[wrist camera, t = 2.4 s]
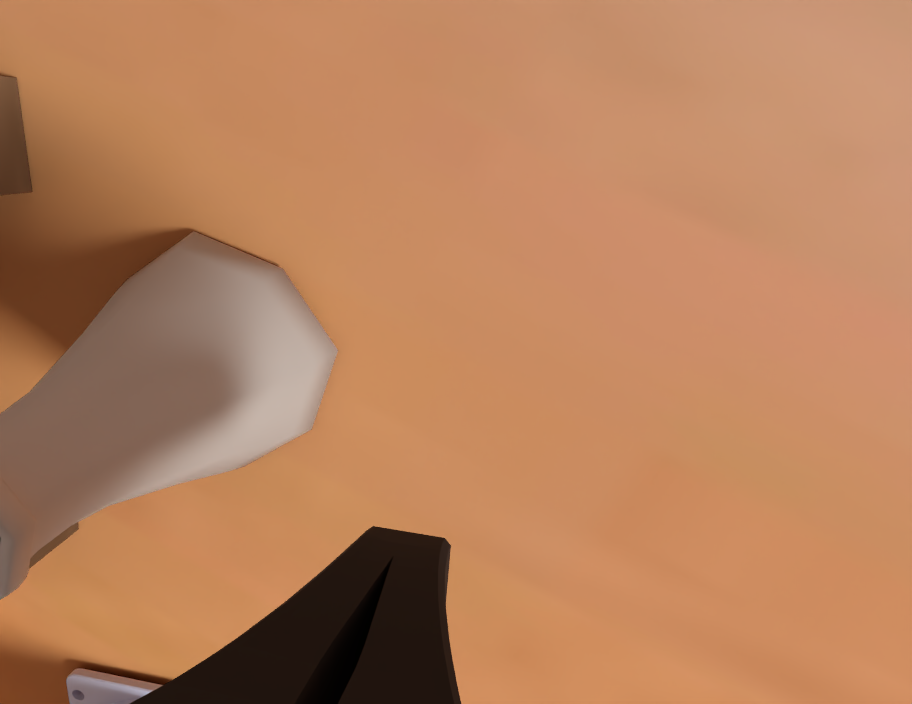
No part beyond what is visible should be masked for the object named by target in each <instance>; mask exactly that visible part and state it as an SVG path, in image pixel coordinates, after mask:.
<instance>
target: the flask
mask: <svg viewBox="0 0 912 704" xmlns="http://www.w3.org/2000/svg"><path fill="white" fill-rule="evenodd" d="M337 352H338V350H337V348H336V347H335V345H334V344H333V342H332V341H331V339H330V338H329V336H328V335H327V333H326V332H325V330H324V329H323V327H322V326H321V325H320V323H319V322H318V320H317V319H316V317H315V316H314V314H313V313H312V311H311V310H310V308H309V307H308V305H307V304H306V302H305V301H304V299H303V298H302V296H301V295H300V293H299V292H298V290H297V289H296V287H295V286H294V284H293V283H292V281H291V280H290V278H289V277H288V275H287V274H286V272H285V271H284V270H283V269H282V268H280V267H278V266H275V265H273V264H271V263H268V262H266V261H263V260H261V259H259V258H256V257H254V256H252V255H249V254H247V253H244V252H242V251H240V250H237V249H235V248H233V247H230V246H228V245H225V244H223V243H221V242H218V241H216V240H214V239H211V238H209V237H206V236H204V235H202V234H199V233H197V232H195V231H193V232H192V233H190V234H189V235H188V236H186V237H185V238H183V239H182V240H181V241H179V242H178V243H177V244H175V245H174V246H172V247H171V248H170V249H168V250H167V251H165V252H164V253H163V254H161V255H160V256H159V257H157V258H156V259H154V260H153V261H152V262H150V263H149V264H148V265H146V266H145V267H143V268H142V269H141V270H139V271H138V272H137V273H135V274H134V275H132V276H131V277H130V278H128V279H127V280H126V281H125V282H124V283H123V284H122V286H121V287H120V288H119V289H118V290H117V291H116V292H115V293H114V295H113V296H112V297H111V298H110V300H109V301H108V302H107V303H106V305H105V306H104V307H103V308H102V310H101V311H100V312H99V313H98V315H97V316H96V317H95V318H94V320H93V321H92V322H91V323H90V325H89V326H88V327H87V328H86V330H85V331H84V332H83V333H82V335H81V336H80V337H79V338H78V339H77V340H76V341H75V342H74V343H73V344H72V346H71V347H70V348H69V349H68V350H67V351H66V352H65V353H64V354H63V355H62V357H61V358H60V359H59V360H58V361H57V362H56V363H55V364H54V365H53V366H52V368H51V369H50V370H49V371H48V372H47V373H46V374H45V375H44V376H43V378H42V379H41V380H40V381H39V382H38V383H37V384H36V385H35V386H34V387H33V389H32V390H31V391H30V392H29V393H27V394H26V395H25V396H23V397H22V398H21V399H19V400H18V401H17V402H15V403H14V404H13V405H11V406H10V407H9V408H7V409H6V410H5V411H3V412H2V413H1V414H0V599H2V598H4V597H6V596H7V595H9V594H10V593H12V592H13V591H14V590H16V589H17V588H18V587H19V586H20V585H21V584H22V582H23V581H24V580H25V578H26V577H27V574H28V570H29V564H30V558H31V557H32V556H33V555H34V554H35V553H36V552H37V551H38V550H40V549H41V548H42V547H43V546H45V545H46V544H47V543H49V542H50V541H51V540H53V539H54V538H55V537H57V536H58V535H59V534H61V533H62V532H63V531H65V530H66V529H67V528H69V527H70V526H71V525H73V524H75V523H77V522H79V521H81V520H83V519H85V518H86V517H88V516H90V515H92V514H94V513H96V512H98V511H100V510H102V509H104V508H105V507H107V506H110V505H113V504H116V503H119V502H123V501H126V500H129V499H132V498H135V497H139V496H142V495H145V494H148V493H151V492H155V491H158V490H161V489H164V488H167V487H170V486H174V485H177V484H180V483H184V482H188V481H192V480H196V479H200V478H204V477H208V476H212V475H216V474H220V473H224V472H228V471H231V470H234V469H238V468H241V467H244V466H246V465H248V464H250V463H252V462H253V461H255V460H257V459H259V458H261V457H263V456H264V455H266V454H268V453H270V452H272V451H273V450H275V449H277V448H279V447H281V446H282V445H284V444H286V443H288V442H290V441H291V440H293V439H295V438H297V437H299V436H301V435H302V434H304V433H306V432H308V431H310V430H311V429H312V427H313V424H314V421H315V418H316V415H317V412H318V409H319V406H320V403H321V400H322V397H323V394H324V391H325V388H326V385H327V382H328V379H329V376H330V373H331V370H332V367H333V364H334V361H335V358H336V355H337Z"/></svg>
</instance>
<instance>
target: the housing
mask: <svg viewBox="0 0 912 704" xmlns="http://www.w3.org/2000/svg"><path fill="white" fill-rule="evenodd" d="M27 192H32V187H31V180H30V173H29V165H28V158H27V151H26V144H25V136H24V129H23V122H22V115H21V107H20V100H19V93H18V86H17V78H15V77H6V76H0V195H7V194H17V193H27ZM78 529H79V528H78V522H77V523H75V524H73V525H71V526H70V527H69V528H67V529H66V530H65V531H63V532H62V533H61V534H59V535H58V536H57V537H55V538H54V539H53V540H51V541H50V542H49V543H47V544H46V545H45V546H43V547H42V548H41V549H40V550H38V551H37V552H36V553H35V554H34V555H33V556H32V557H31V558H30V564H29V568H31V567H32V566H33V565H34V564H36V563H37V562H38V561H39V560H41V559H42V558H43V557H44V556H46V555H47V554H48V553H49V552H51V551H52V550H53V549H54V548H56V547H57V546H58V545H59V544H61V543H62V542H63V541H64V540H66V539H67V538H68V537H69V536H71V535H72V534H73V533H74V532H76V531H77V530H78Z"/></svg>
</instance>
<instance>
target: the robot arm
mask: <svg viewBox="0 0 912 704" xmlns="http://www.w3.org/2000/svg"><path fill="white" fill-rule="evenodd" d="M450 548H451V545H450V544H449V543H448V541H447V540H446V539H445V538H441V537H435V536H429V535H423V534H417V533H411V532H405V531H399V530H393V529H387V528H381V527H375V526H373V527H371V528H370V529H368V530H367V531H366V532H365V533H364V534H362V535H361V536H360V537H359V538H358V539H357V540H356V541H355V542H354V543H353V544H352V545H350V546H349V547H348V548H347V549H346V550H345V551H344V552H343V553H342V554H341V555H340V556H338V557H337V558H336V559H335V560H334V561H333V562H332V563H331V564H329V565H328V566H327V567H326V568H325V569H324V570H323V571H322V572H320V573H319V574H318V575H317V576H316V577H314V578H313V579H312V580H311V581H310V582H308V583H307V584H306V585H305V586H304V587H303V588H301V589H300V590H299V591H298V592H297V593H295V594H294V595H293V596H292V597H291V598H289V599H288V600H287V601H286V602H284V603H283V604H282V605H281V606H279V607H278V608H277V609H275V610H274V611H273V612H271V613H270V614H269V615H267V616H266V617H265V618H263V619H262V620H261V621H259V622H258V623H257V624H255V625H254V626H253V627H251V628H250V629H249V630H247V631H246V632H245V633H243V634H242V635H241V636H239V637H238V638H236V639H235V640H234V641H232V642H231V643H229V644H228V645H226V646H225V647H223V648H222V649H221V650H219V651H218V652H216V653H215V654H213V655H211V656H210V657H208V658H207V659H205V660H204V661H202V662H201V663H199V664H198V665H196V666H194V667H193V668H191V669H190V670H188V671H186V672H185V673H183V674H182V675H180V676H178V677H177V678H175V679H173V680H172V681H170V682H168V683H166V684H165V685H160V684H155V683H150V682H145V681H140V680H136V679H131V678H126V677H121V676H116V675H112V674H107V673H102V672H97V671H92V670H87V669H82V668H77V669H75V670H73V671H72V672H71V673H70V675H69V676H68V677H67V678H66V684H67V690H68V696H69V702H70V704H461V701H460V696H459V692H458V687H457V682H456V677H455V671H454V666H453V661H452V655H451V648H450V642H449V634H448V624H447V615H446V594H447V582H448V571H449V559H450Z"/></svg>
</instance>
